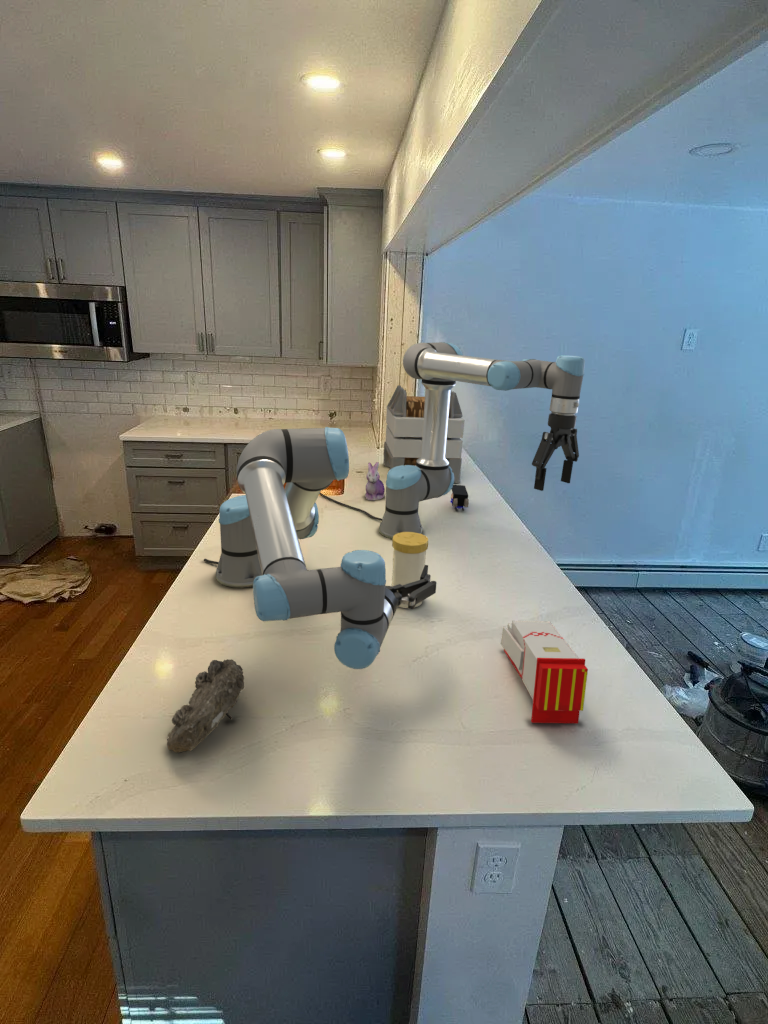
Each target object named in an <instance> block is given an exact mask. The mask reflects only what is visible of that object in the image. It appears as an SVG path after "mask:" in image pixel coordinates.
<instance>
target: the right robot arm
mask: <svg viewBox="0 0 768 1024" xmlns="http://www.w3.org/2000/svg"><path fill="white" fill-rule="evenodd" d="M585 365H586V360H585V358H584V357H582V356H578V355H566V354H565V355H564V354H563V355H558V356H557V357H556V360H555V361H549V360H541V359H536V358H524V359H521V360H506V359H505V360H504V359H503V360H502V359H496V358H487V357H479V356H471V355H464V354H463V352H462V350H461V349H460V347H459V346H457V345H456V344H455V343H451V342H445V341H443V342H442V341H441V342H440V341H439V342H438V341H437V342H417V343H414V344H412V345H411V346H409V347H408V348H407V350H406V351H405V353H404V355H403V358H402V366H403V369H404V372H405V373H406V374H407V375H408V376H409V377H411V378H412V379H415V380H421V385H422V386H423V387H424V389H425V392H424V397H425V404H424V419H423V434H422V449H421V457H420V458H418V459H417V461H416V466H413V465H401V466H396V467H394V468H392V469H390V468H389V470H388V472H387V474H386V479H385V504H384V505H385V507H384V508H385V509H384V513H383V515H382V518H380V517H378V516H377V517H376V516H375V515H372V514H370V513H369V512H367V511H365V510H364V509H361V508H358V507H355V506H352V505H349V504H346V503H343V502H341V501H338V500H335V499H334V498H331V497H328V496H327V495H325V494H323V493H321V492H320V494H319V495H320V496H321V497H323V498H325V499H327V500H328V501H331V502H333V503H335V504H338V505H341V506H344V507H345V508H348V509H352V510H355V511H358V512H360V513H364V514H365V515H367V516H368V517H370V518H372V519H373V520H377V521H380V522H379V526H378V533H379V534H380V535H381V536H382V537H385V538H387V539H389V540H393V536H394V535H395V534H397V533H401V532H415V533H420V534H423V531H424V526H423V525H422V524H421V518H420V515H419V507H420V506H419V505H420V502H423V501H427V500H431V499H437V498H440V497H443V496H446V495H448V493H450V492H451V491H452V487H453V485H455V483H454V473H452V469H451V467H450V466H449V462H448V461H447V459H446V458H445V453H446V441H447V428H448V416H449V404H450V392H451V391H452V389H453V388H454V387H455V386H456V384H457V382H461V383H465V384H473V385H479V386H487V387H491V388H492V389H494V390H496V391H503V392H504V391H511V390H520V389H532V388H533V389H534V388H539V389H546V390H551V398H550V404H549V413H548V418H547V419H548V420H547V426H548V427H549V428H550V431H549V432H548V431H543V432H542V435H541V440H540V442H539V445H538V447H537V449H536V452H535V454H534V457H533V460H532V461H531V466H533V467H535V475H534V477H535V478H534V485H533V489H534V490H537V491H539V492H543V491H544V489H545V484H546V483H545V482H546V476H547V468H546V466H547V465H548V463H549V461H550V459H551V457H552V456H553V454H554V453H555V451H556V450H557V449H558V448H560V447H561V449H562V452H563V455H564V458H565V459H563V463H562V468H561V469H562V470H561V475H560V482H562V483H566V484H571V478H572V472H573V466H574V463H576V462H578V461H579V457H580V453H579V444H578V428H576V423H577V419H578V416H577V414H578V412H579V411H578V410H579V406H580V397H581V391H582V385H583V380H584V376H585Z"/></svg>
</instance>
